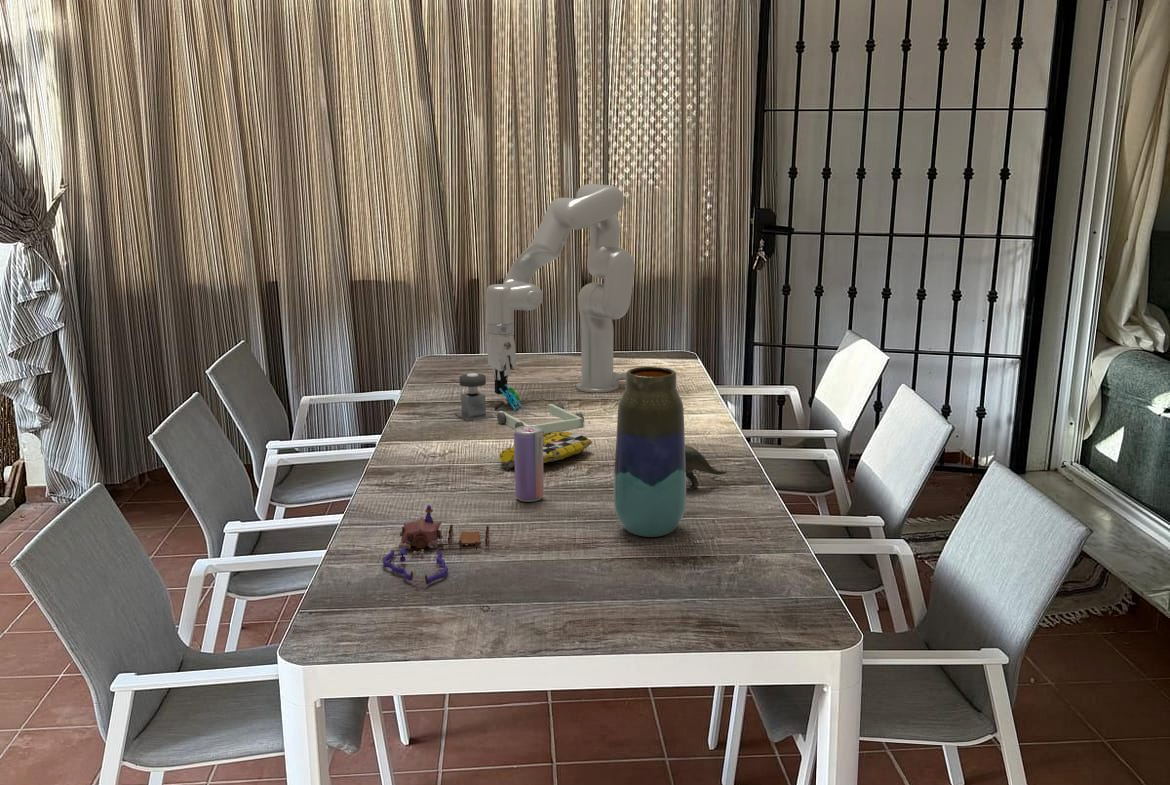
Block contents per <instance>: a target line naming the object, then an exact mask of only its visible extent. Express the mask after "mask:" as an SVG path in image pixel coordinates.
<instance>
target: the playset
mask: <svg viewBox="0 0 1170 785" xmlns="http://www.w3.org/2000/svg"><path fill="white" fill-rule="evenodd" d="M433 510H434V508H432V506H431V504H428V505H427V507H426V509H425V513H426V515H425V517H424V518H423V517H422V516H421V518H419V519H418V520H414V521H411V522H408V523H403V526H401V531H400V533H399V537H401V539H400V540H401V542H400V543H399V544H398V548H396V549H391V551H390V552H389V553H388V554H386V555H385V556H384V557H382V565H383V567H385V568H387V569H388V568H389V569H391V571H393V572H394V573H397V574H403V577H404V579H405V580H407V581H409V582H410V581H412V582H414V584H415V586H418V585H420V584H421V583H425V585H430V584H431V583H432V582H435V581H436V580H440V579H443V578H445V577H447V575H448V573H449V567H448V566H446V561H445V560H444V559H442V558H443V551H449V550H457V551H458V550H459V551H460V552H461V551H462V550H475V551H477V550H479V549H482V546H478V545H481V544H482V541H480V539H481V538H480V536H481V534H480V532H479V531H475V532H473V531H472V532H465V531H464V532H461V533H460V537H459V542H453V533H454V524H452V523H451V524H450V525H449V528H448V537H447V543H443V542H441V543H439V541H438V540H443V538H444V535H442V531H441V530H439V528H440V526H441V525H442V521H439V522H434V520H433V517H432V516H431V513H433V512H434V511H433ZM485 528H486V530H485V539H484V543H485V547H486V548H489V546H490V545H489V543H490V526H489V525H488V524H487V525H486V527H485ZM463 545H465V546H468V545H475V546H473V547H470V546H469V547H463ZM439 546H440V548H438V547H439ZM444 546H459V547H453V548H452V547H451V548H450V547H449V548H448V547H447V548H444ZM412 547H415V548H416V549H420V550H418V551H416V550H414V551H412V554H419V553H420V555H424V554H425V548H426V547H428V548H430V549H436V548H438V550H437V551H436V552H437V556H436V558H435V559H436V561H435V562H436V564H437V565H435V568H437V571H438V573H435V574H433V575H431V576H427V574H425V576H424V579H420V580H418V579H416V578H414V572H413V570H411V571H410V574H409V573H407V570H406V568H404V566H402V564H398V565H397V566H396V565H395V563H392V562H388V561H390V560H391V559H392V558H394V556H395V552H399V553H398V554H397V556H400V555H401V556H400V557H399V561H400V562H401V563H402V562H406V556H407V555H408V552H407V550H409V549H411V548H412Z"/></svg>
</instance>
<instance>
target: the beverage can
mask: <svg viewBox="0 0 1170 785" xmlns="http://www.w3.org/2000/svg"><path fill="white" fill-rule="evenodd" d="M513 446H514V458H515V465H514V491H515V492H514V493H515V497H516V498H517V500H519V501H520V502H523V503H524V502H525V503H532V502H533V503H534V502H537V501H541V500H542V499H543V497H544V495H545V494H544V492H545V490H544V486H545V485H544V463H543V433H542V429H541V428H540V427H538V426H520V427H517V428H516V429H514V434H513Z"/></svg>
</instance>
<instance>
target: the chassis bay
mask: <svg viewBox="0 0 1170 785" xmlns="http://www.w3.org/2000/svg"><path fill="white" fill-rule="evenodd" d="M547 406H548V408H547V409H548V411H547V412H548V413H549V414H551V415H552V416H555V417H557V418H560V419H562V420H558V421H550V422H546V423H545V422H544V423H537V424H533V425H532V424H531V425H530V424H528V423H526V422H524V421H522V420H520V419H518V418H516V417H514V416H512V415H510V414H509V413H507V412H505V411H503V410H499V411H497V415H496V418H497V423H498V424H499V425H503V424H504V425H506V426H509V427H510V428H512V429H514V430H515V429H516V428H517V427H520V426H538V427H540V428H541V429H542V433H546V434H549V433H550V432H557V431H558V432H564V431H567V430H573V429H574V430H575V429H580V428H584V422H585V418H584V415H583V413H581V412H578V413H575V414H574V413H572V412H570V411H568V410H565V406H564V404H562V403H560V404H556V405H555V404H553V403H548V405H547ZM563 430H564V431H563Z"/></svg>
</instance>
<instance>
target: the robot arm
mask: <svg viewBox="0 0 1170 785" xmlns="http://www.w3.org/2000/svg"><path fill="white" fill-rule="evenodd" d="M624 203H625V196H624V194H623V192H622V190H621V189H620V188H619V187H617V186H615V185H611V184H610V185H609V184H598V183H587V184H583V185H582V186H581V187H579V189H578V190H577V192H576V198H573V197H557V198H555V199H553V200H552V201H551V202H550V204H549V205H548V207H547V209H546V212H545V213H544V215H543V218H542V220H541V222H540V224H539V226H538V228H537V231H536V233H535V236H534V237H533V240H532V241H531V243H530V245H528V247H526V249H525V250H523V252H522V253H521V254H520V255H519V256H518V257H517V258H516V259H515V260H514V262H513V263H512V265H510V267H509V269H508V272H507V274H506V276H505V278H504V280H503V283H500V284H499V283H497V284H496V283H495V284H490V285H488V286H487V288H486V295H485V296H486V335H487V336H488V337H487V364H488V366H490V368H491V370H492V371H493V378H494V393H495V394H496V395H504V394H503V393H502V392H501V391H500V390H499V389H500V388H501V387H502V391H503V392H505V390H507V388H506V386H505V387H504V385H505V384H506V385H507V386H508V379H509V376H512V375H511V370H512V371H515V370H516V369H517V355H516V344H515V343H516V342H515V336H514V335H515V320H514V319H515V317H514V316H515V311H533V310H536V309H537V308H539V307H540V306H541V305H542V303H543V300H544V294H543V291H542V290H541V288H540V287H539V286H537V285H536V284H533V283H530V281H531V279H532V277H534V275H535V274H536V272H537V271H539V269H540V268H542V267H544V266H545V265H548V264H550V263H552V262H553V261H555V260H556V259H558V258H559V256H561V253H562V250H563V248H564V246H565V244H566V242H567V239H568V237H569V235H570V233H571V230H584V229H586V228H589V227H590V238H589V239H590V240H589V247H588V254H587V262H586V265H587V266H586V268H587V270H588V273H589V274H590V275H591V276H593V277H594V278H598V279H601V280H604V283H601V282H590V283H587V284H585V285H584V286H583V287H582V288H581V289H580V290H579V293H578V297H577V305H578V310H579V312H578V313H579V316H580V317H579V318H580V325H581V326H580V327H581V328H580V330H581V335H580V336H581V337H580V338H581V341H580V342H581V344H580V345H581V346H580V347H581V348H580V349H581V352H580V353H581V355H580V357H581V358H580V359H581V381H580V382H577V383H576V385H575V386H576V389H577V390H579V391H581V392H584V393H595V394H596V393H597V394H598V393H610V392H613V391H617V390H618V389H619V383H618V382H619V381H620V380H621V381H623V380H625V381H626V372H624V373H619V372H616V371H614V325H613V320H619V319H621V318H623V317H624V316H626V314H627V313H628V311H629V308H630V305H631V300H632V294H633V286H634V281H635V280H634V279H635V273H636V272H635V271H636V270H635V266H636V265H635V261H634V257H633V255H632V254H631V253H630V252H629V251H628V250H626V249H624V248H620V239H621V238H620V237H621V225H620V224H621V223H620V220H619V218H618V215H617V214H619V212H621V210H622V209H623V207H624Z"/></svg>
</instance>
